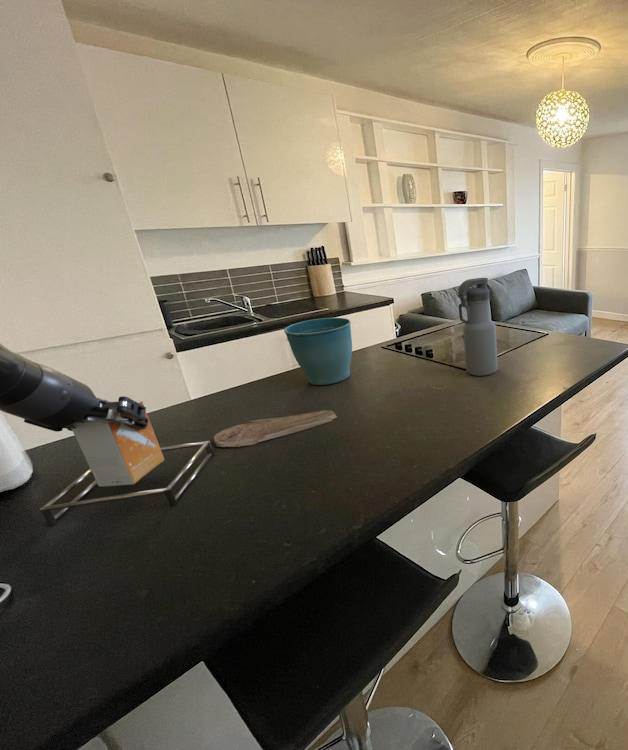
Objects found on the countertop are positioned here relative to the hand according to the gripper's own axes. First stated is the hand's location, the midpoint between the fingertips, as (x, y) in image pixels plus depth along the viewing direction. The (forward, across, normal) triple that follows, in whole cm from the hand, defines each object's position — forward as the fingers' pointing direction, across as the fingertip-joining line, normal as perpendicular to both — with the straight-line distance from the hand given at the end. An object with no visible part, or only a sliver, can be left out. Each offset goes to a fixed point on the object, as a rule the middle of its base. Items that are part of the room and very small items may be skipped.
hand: (120, 427), depth 74 cm
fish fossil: (+20, -20, -2) cm, 28 cm away
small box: (+5, 0, +8) cm, 9 cm away
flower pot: (+41, -27, -24) cm, 54 cm away
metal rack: (+8, 0, +10) cm, 12 cm away
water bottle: (+34, -73, -18) cm, 83 cm away
